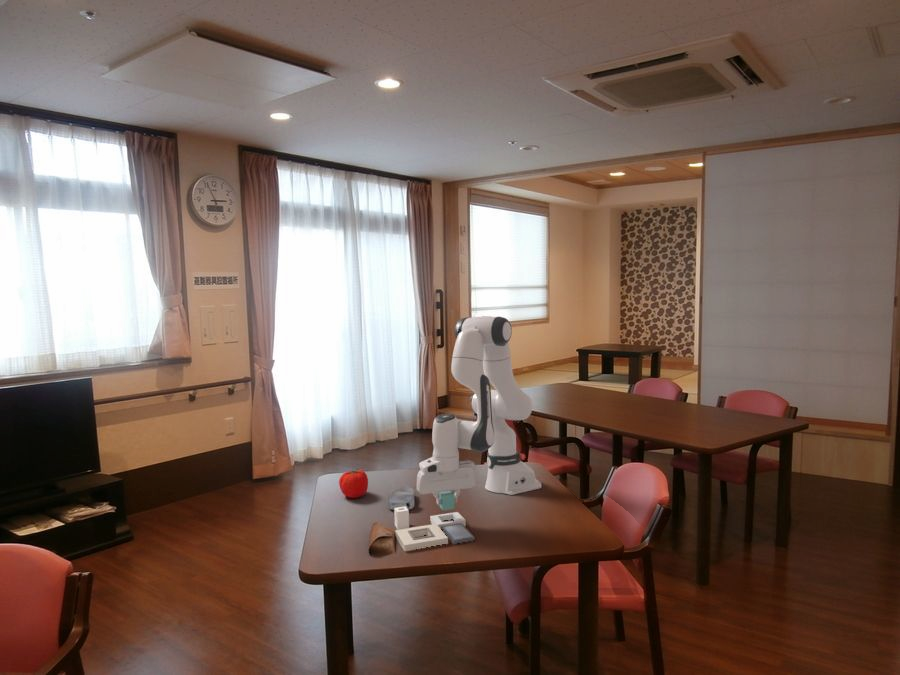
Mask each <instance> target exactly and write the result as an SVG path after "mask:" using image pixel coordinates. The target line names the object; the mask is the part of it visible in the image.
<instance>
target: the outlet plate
mask: <svg viewBox="0 0 900 675" xmlns="http://www.w3.org/2000/svg"><path fill="white" fill-rule="evenodd" d="M424 535H426V536H424ZM395 539H396V540H397V542H398V543H399V545H400V546H401V548H402V550H403V551H404V552H410V551H416V549H417V550H421V548H422V549H427V548H426V547H428V548H432V547H431V546H434V547H437V546H436V545H440V546H443V545H442V544H446V545H449V538H448V537H447V536H446V535H445V533H444V532H443V531H442V530H441V529H440V528H439V526H438V525H437V524H432V523H431V524H427V525H420V526H413V527H409V528H404V529H395Z"/></svg>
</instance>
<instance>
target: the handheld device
mask: <svg viewBox="0 0 900 675" xmlns="http://www.w3.org/2000/svg"><path fill="white" fill-rule="evenodd" d="M404 506H406V507H407V509H408V510H412V509H413V507H414V508H415V491H414V489H413V488H412V487H410V486H400V487H397V488H396V489H394V490H393V492H392V494H390V495H389V496H388V509H389V510H394V508H398V507H404Z"/></svg>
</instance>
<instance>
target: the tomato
mask: <svg viewBox="0 0 900 675" xmlns="http://www.w3.org/2000/svg"><path fill="white" fill-rule="evenodd" d="M359 469H360V467H358V468H357V469H356V470H355V469H354V470H350V471H346V472H343V473H342V474H341V475H340V477H339V481H338V484H339V485H338V486H339V488H340V491H341V493H342V494H343V495H344V496H345V497H347V498H349V499H350V498H351V499H356V498H360V497H363V496H365V495H366V493H367V491H368V488H369V479H368V475H367V474H366V472H365V471H364V470H361V469H360V470H359Z"/></svg>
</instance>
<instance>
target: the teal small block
mask: <svg viewBox="0 0 900 675" xmlns="http://www.w3.org/2000/svg"><path fill="white" fill-rule="evenodd" d="M454 494H455V493H454V492H452V490H451V491H443V492H439V495H438V498H441V499H442V504H440V505H438V507H439V508H440V509H441V510H442V511H443V512H444V511H449V510H455V502H454Z"/></svg>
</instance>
